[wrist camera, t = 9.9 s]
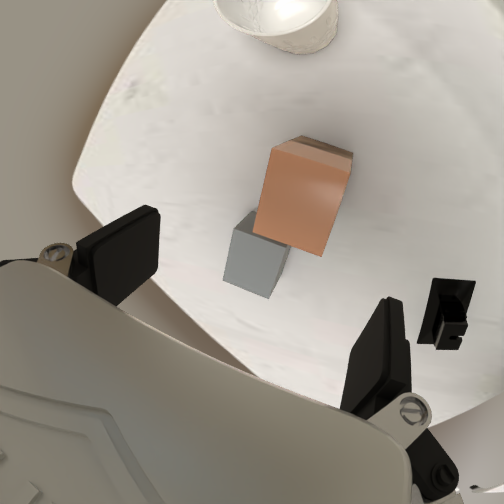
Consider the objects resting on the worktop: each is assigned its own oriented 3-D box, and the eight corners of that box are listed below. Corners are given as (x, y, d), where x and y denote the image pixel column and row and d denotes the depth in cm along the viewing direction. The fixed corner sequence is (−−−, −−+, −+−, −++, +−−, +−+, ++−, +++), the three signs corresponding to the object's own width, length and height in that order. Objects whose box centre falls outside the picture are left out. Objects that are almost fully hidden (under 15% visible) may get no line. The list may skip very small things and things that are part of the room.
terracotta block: (352, 160, 21) (350, 173, 17) (329, 229, 24) (321, 256, 20) (289, 140, 22) (271, 148, 18) (272, 209, 25) (252, 232, 21)
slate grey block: (297, 227, 30) (285, 248, 26) (281, 273, 34) (268, 299, 29) (252, 210, 31) (233, 228, 27) (240, 257, 34) (222, 280, 30)
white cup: (356, 48, 20) (354, 16, 12) (275, 70, 24) (232, 53, 16) (325, -20, 18) (305, -72, 9) (248, 4, 21) (198, -32, 13)
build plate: (455, 350, 30) (461, 376, 27) (405, 349, 33) (407, 375, 29) (483, 266, 25) (497, 289, 21) (426, 262, 28) (433, 286, 24)
